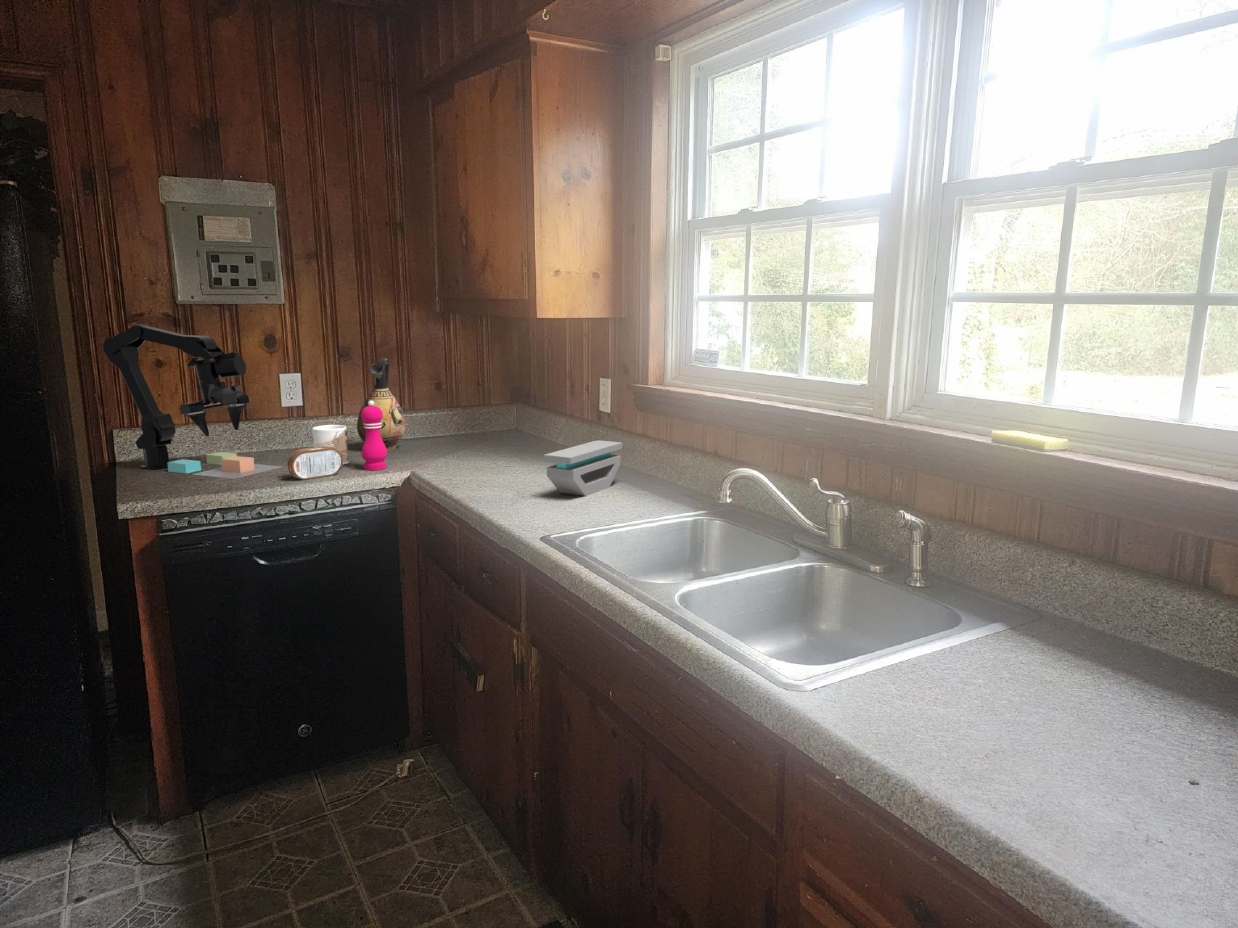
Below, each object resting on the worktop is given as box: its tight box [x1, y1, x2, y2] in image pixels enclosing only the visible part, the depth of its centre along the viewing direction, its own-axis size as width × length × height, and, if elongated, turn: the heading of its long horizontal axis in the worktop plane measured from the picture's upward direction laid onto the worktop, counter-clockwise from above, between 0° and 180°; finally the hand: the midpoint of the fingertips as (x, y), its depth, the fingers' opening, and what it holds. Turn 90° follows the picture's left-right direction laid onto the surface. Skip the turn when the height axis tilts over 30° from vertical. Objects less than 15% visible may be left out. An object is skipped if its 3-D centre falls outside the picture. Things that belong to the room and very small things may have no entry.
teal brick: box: [167, 459, 202, 474], centre depth 231 cm, size 7×5×4 cm
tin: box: [287, 446, 344, 481], centre depth 224 cm, size 15×3×8 cm, turn 134°
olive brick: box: [205, 451, 238, 466], centre depth 243 cm, size 7×5×4 cm
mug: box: [311, 424, 350, 465], centre depth 245 cm, size 10×12×11 cm
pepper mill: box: [361, 401, 388, 471], centre depth 234 cm, size 7×7×20 cm
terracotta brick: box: [221, 455, 255, 473], centre depth 231 cm, size 7×5×4 cm
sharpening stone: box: [543, 439, 624, 497], centre depth 207 cm, size 25×8×11 cm, turn 150°
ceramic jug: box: [356, 357, 407, 452], centre depth 266 cm, size 17×15×30 cm
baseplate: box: [191, 463, 283, 480], centre depth 231 cm, size 16×18×1 cm
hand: (222, 433), depth 235 cm, fingers open, 9 cm apart
